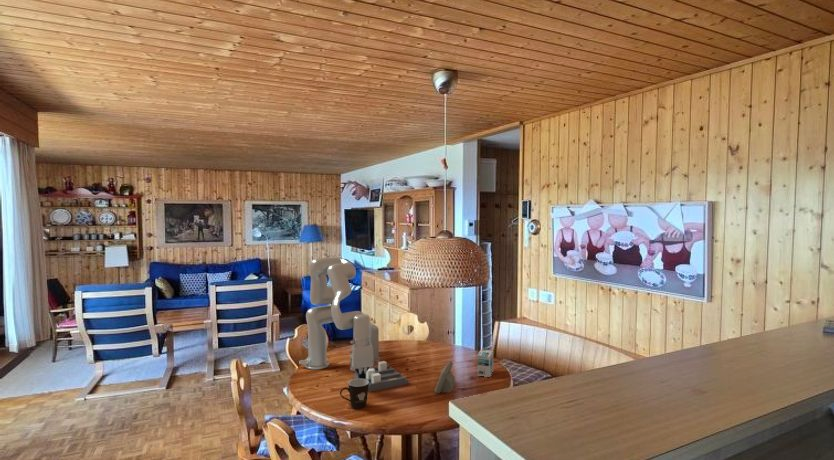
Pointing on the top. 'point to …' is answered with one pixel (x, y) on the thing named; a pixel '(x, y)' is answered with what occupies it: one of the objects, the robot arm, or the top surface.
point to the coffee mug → (357, 393)
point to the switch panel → (385, 379)
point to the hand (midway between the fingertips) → (361, 381)
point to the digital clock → (445, 379)
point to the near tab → (375, 378)
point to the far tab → (382, 366)
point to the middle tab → (369, 373)
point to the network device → (374, 341)
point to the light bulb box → (485, 363)
